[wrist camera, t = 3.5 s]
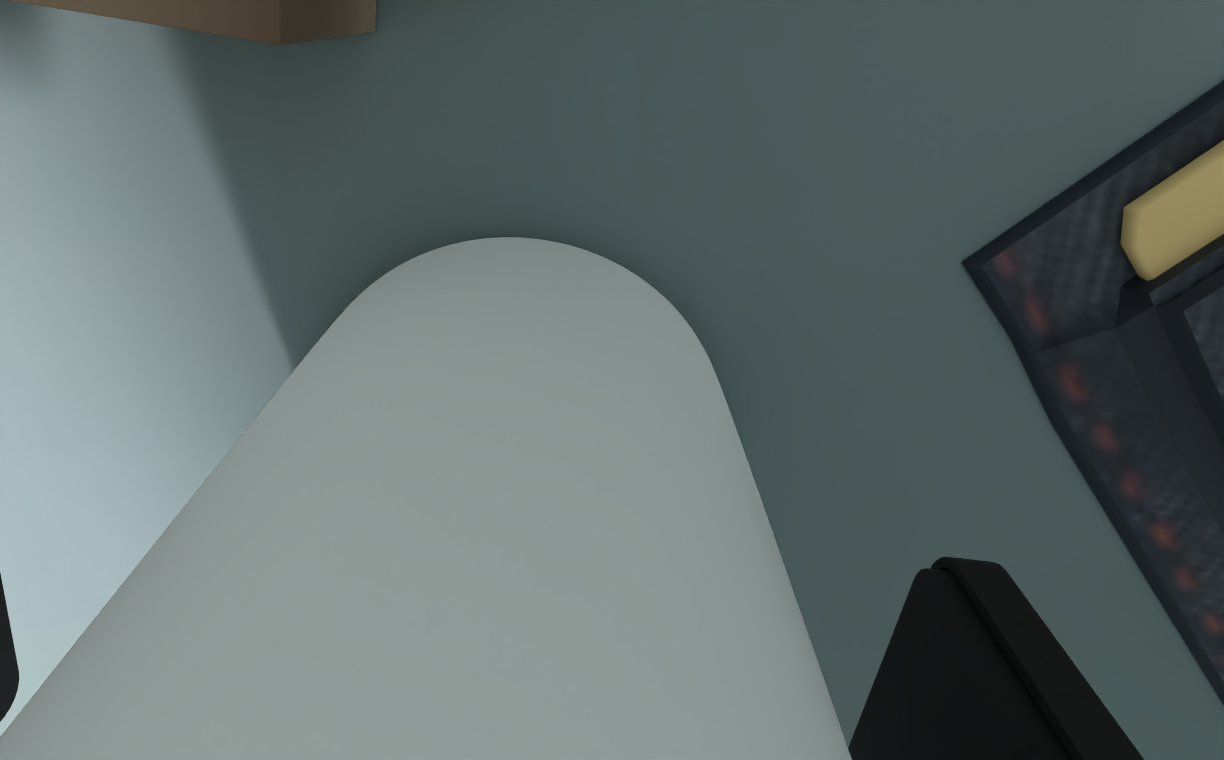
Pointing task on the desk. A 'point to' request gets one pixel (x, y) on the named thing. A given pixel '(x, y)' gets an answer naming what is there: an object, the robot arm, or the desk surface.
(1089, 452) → the wallet
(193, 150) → the desk surface
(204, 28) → the plinth
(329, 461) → the can
